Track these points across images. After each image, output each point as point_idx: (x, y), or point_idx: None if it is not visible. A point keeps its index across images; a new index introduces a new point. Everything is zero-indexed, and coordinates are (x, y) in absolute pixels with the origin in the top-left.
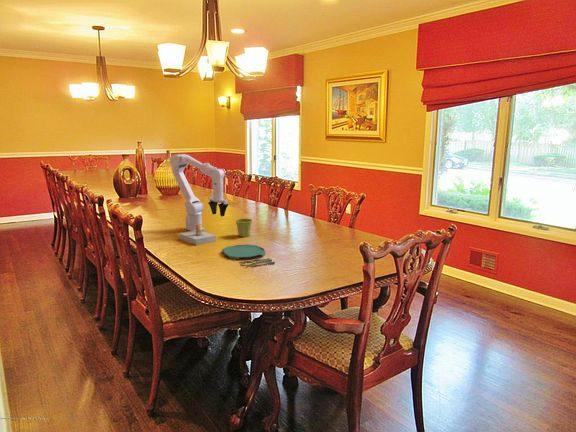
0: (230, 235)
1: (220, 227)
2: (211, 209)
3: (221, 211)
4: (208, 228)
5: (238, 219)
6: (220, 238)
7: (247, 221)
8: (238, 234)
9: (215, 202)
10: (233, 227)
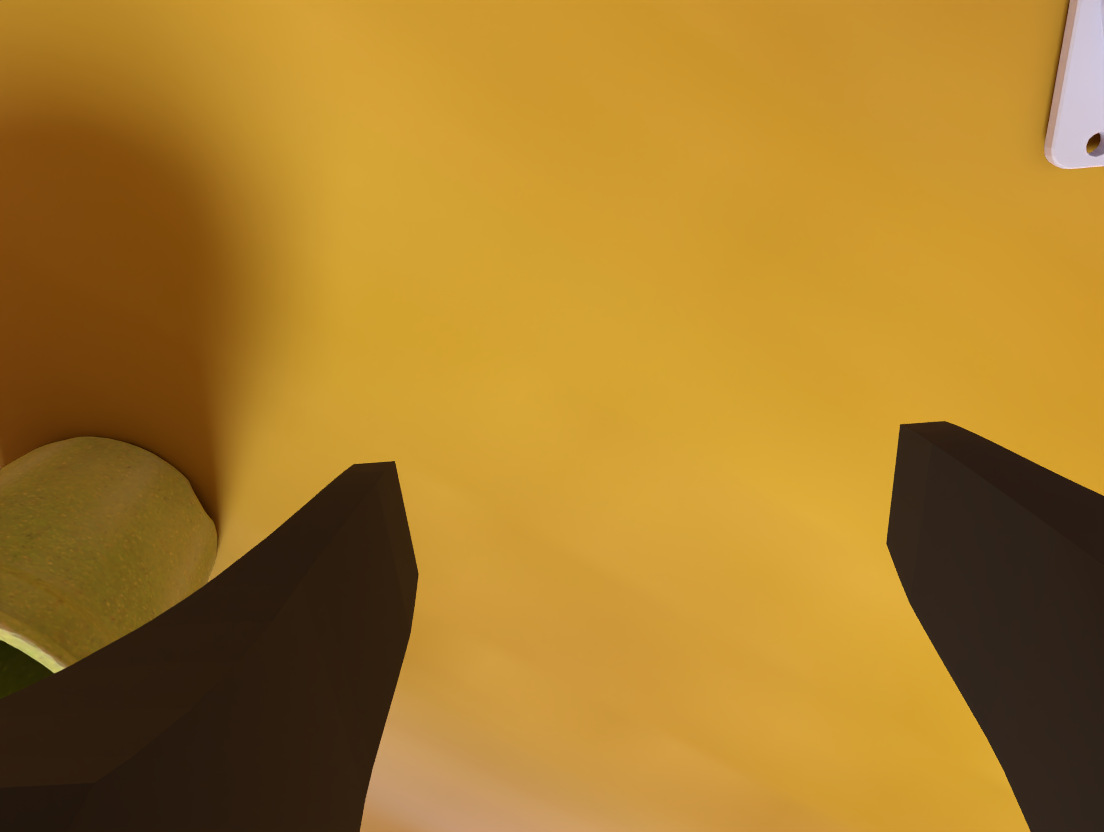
0: (243, 343)
1: None
2: (1076, 500)
3: (228, 585)
4: (1070, 291)
5: None
6: (82, 18)
7: None
8: (115, 452)
9: None
10: (755, 675)
